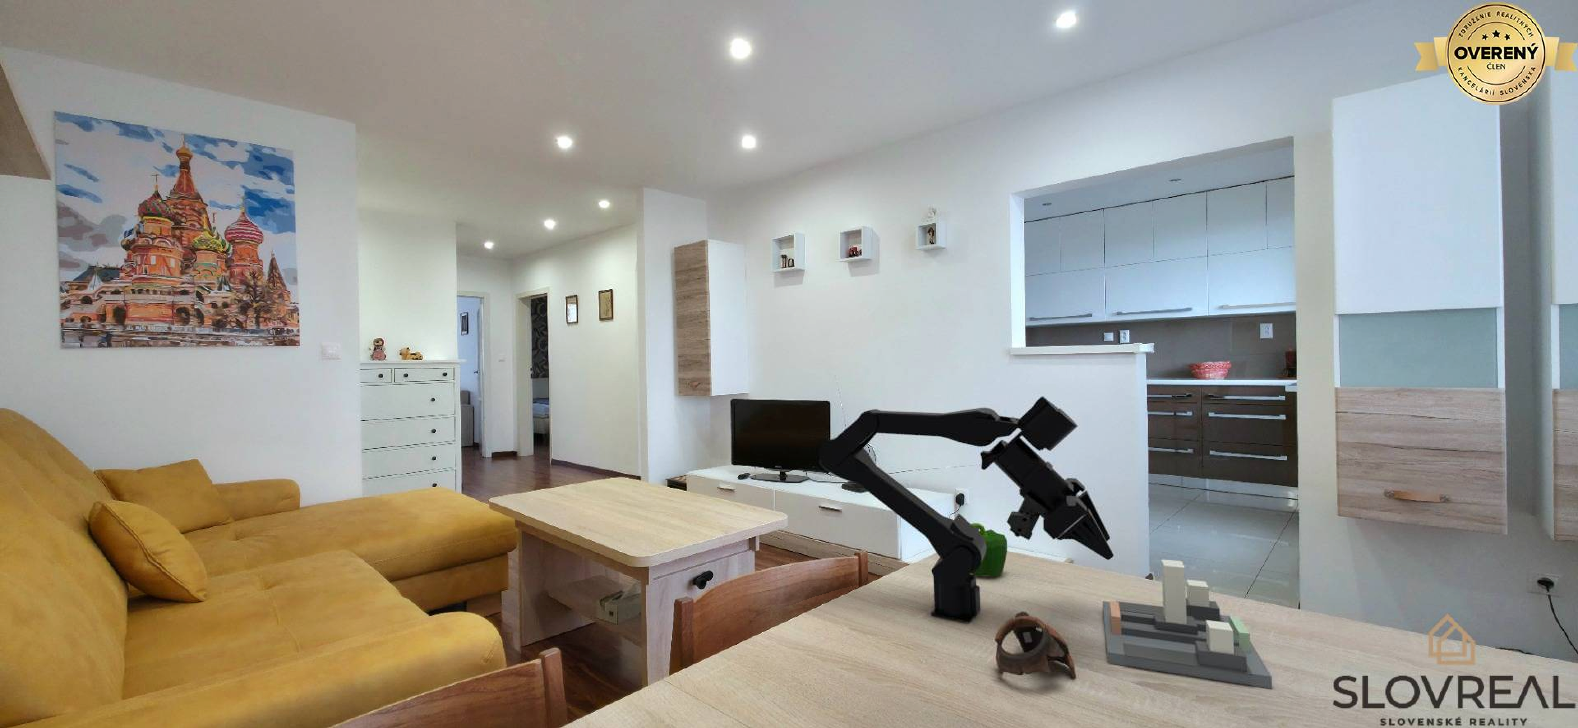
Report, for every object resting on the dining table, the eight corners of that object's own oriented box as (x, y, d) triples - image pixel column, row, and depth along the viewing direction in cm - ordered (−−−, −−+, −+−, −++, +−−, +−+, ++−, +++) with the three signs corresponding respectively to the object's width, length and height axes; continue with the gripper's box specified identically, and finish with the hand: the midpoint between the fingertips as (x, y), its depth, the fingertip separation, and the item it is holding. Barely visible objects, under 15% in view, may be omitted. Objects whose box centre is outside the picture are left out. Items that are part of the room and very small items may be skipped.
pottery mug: (1094, 694, 77) (1067, 645, 76) (1024, 722, 79) (996, 674, 77) (1058, 629, 89) (1034, 585, 87) (997, 655, 90) (973, 612, 89)
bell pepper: (1005, 567, 123) (1003, 517, 123) (1010, 582, 115) (1008, 528, 115) (962, 565, 125) (960, 516, 125) (963, 580, 117) (962, 527, 117)
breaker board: (1108, 664, 83) (1106, 616, 83) (1102, 609, 101) (1101, 569, 101) (1272, 690, 76) (1271, 637, 76) (1235, 625, 94) (1234, 583, 94)
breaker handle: (1156, 635, 88) (1154, 565, 88) (1153, 625, 91) (1151, 557, 91) (1198, 640, 86) (1195, 569, 86) (1193, 630, 89) (1191, 561, 89)
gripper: (998, 492, 107) (1068, 563, 103) (983, 518, 90) (1068, 604, 86) (1045, 449, 104) (1121, 520, 99) (1040, 467, 87) (1131, 553, 83)
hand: (1109, 548), depth 92 cm, fingers open, 9 cm apart
